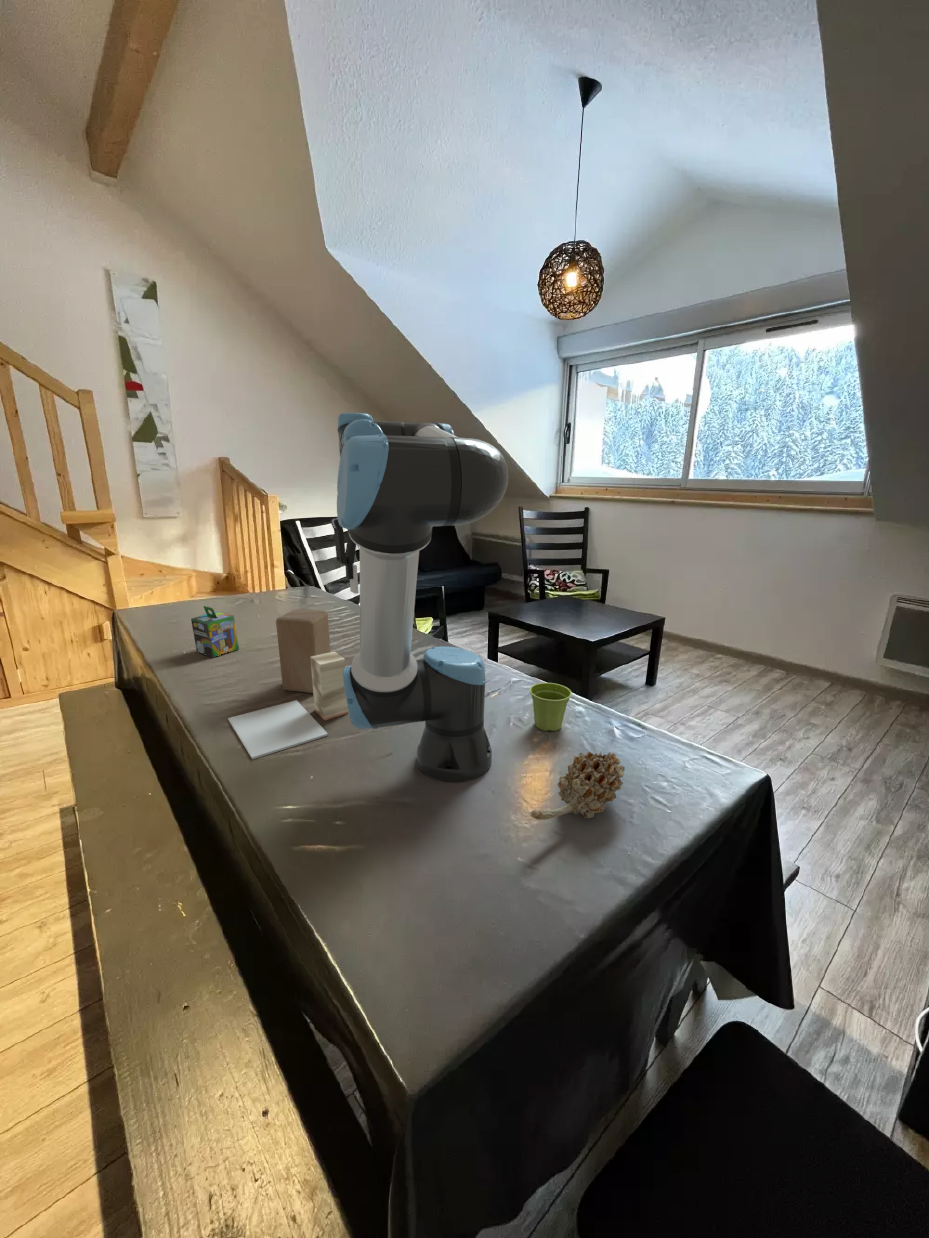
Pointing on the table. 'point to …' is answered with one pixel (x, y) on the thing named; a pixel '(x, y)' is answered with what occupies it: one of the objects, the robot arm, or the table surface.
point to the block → (301, 646)
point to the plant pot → (549, 705)
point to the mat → (276, 728)
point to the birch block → (329, 685)
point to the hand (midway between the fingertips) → (363, 590)
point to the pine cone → (587, 785)
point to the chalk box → (214, 633)
